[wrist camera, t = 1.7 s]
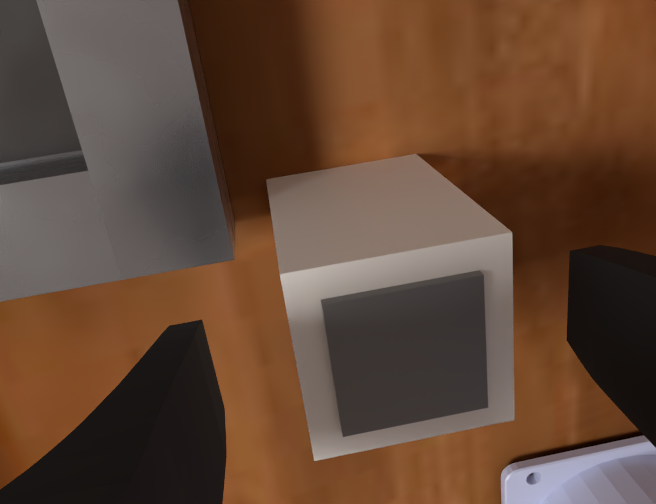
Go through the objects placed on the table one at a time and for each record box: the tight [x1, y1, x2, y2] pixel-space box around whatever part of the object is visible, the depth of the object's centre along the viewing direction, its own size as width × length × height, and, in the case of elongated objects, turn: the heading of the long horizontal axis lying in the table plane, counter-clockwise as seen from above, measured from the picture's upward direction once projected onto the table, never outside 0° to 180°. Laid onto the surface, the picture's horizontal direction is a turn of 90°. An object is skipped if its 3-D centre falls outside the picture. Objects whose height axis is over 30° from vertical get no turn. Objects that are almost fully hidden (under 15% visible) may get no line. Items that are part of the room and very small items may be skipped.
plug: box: [266, 154, 514, 461], centre depth 13 cm, size 4×4×6 cm
